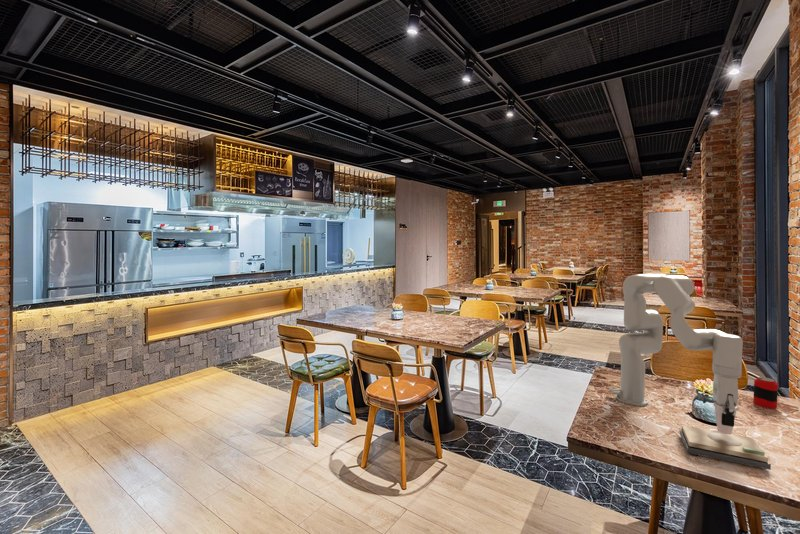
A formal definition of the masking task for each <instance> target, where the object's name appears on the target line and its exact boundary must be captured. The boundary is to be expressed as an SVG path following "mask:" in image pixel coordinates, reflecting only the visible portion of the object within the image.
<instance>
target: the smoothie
mask: <svg viewBox="0 0 800 534" xmlns="http://www.w3.org/2000/svg"><path fill="white" fill-rule="evenodd" d="M725 404H726V405H728V403H725ZM712 405H713V406H714V411H715V421H716V431H718V432H721V433H723V434H733V429H734V427H731V426H726V425H722V423H721V421H722V413H723V404H721V405H719V404H718V403H717V402H716V400H715V401H713V404H712ZM727 408H728V407H726V409H727ZM738 410H739V407H738V405H737V406H736V407H735V410H734V411H735V412H734V413H735V416H737V411H738ZM735 420H736V417H735V418H734V421H735Z"/></svg>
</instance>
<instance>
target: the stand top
mask: <svg viewBox="0 0 800 534" xmlns="http://www.w3.org/2000/svg"><path fill="white" fill-rule="evenodd" d="M681 429H682V431H683V433H684V436H685V438H686V440H687V442H688V445H689V446H691V447H696V448H701V449H706V450H711V451H716V452H720V453H725V454H730V455H735V456H740V457H744V458H749V459H754V460H759V461H764V462H768V461H769V457H768V455H767V454H766V453H765V451H764V450H763V448H761V447H760V445H759V444H758V442H757V441H756V440H755V439H754V438H753V437H749V436H745V435H739V434H733V433H732V434H723V433H721V432H719V431H718V430H712V429H707V428H701V427H696V426H691V425H690V426H689V425H685V424H681Z"/></svg>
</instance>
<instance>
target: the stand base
mask: <svg viewBox="0 0 800 534" xmlns="http://www.w3.org/2000/svg"><path fill="white" fill-rule="evenodd" d="M678 432H679V435H680V438H681V440H682V442H683V443H682V444H683V445H684V446H683V447H684V448H685V450H686V452H687V454H688V455H690V456H693V457H699V456H702V457H707V458H712V459H716V460H722V461H726V462H727V461H728V462H731V463H736V464H740V465H741V464H742V465H746V466H749V467H750V466H751V467H754V468H761V469H765V470H770V471H771V468H772V466H771V465H772V464H771V463H770V461H769V460H768V462H764V461H759V460H754V459H749V458H744V457H740V456H735V455H730V454H725V453H720V452H716V451H711V450H706V449H701V448H696V447H691V446H689V445H688V442H687V440H686V438H685V436H684V433H683V431H682V428H679V430H678Z"/></svg>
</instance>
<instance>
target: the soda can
mask: <svg viewBox="0 0 800 534" xmlns="http://www.w3.org/2000/svg"><path fill="white" fill-rule="evenodd" d="M778 388H779V384H778V382H777V381H776V380H775V379H773V378H769V377H763V376H758V377H756V378H755V379H754V381H753V401H752V402H753V404H754V405H755V406H758V407H760V408H763V409H769V410H770V409H771V410H774V409H778V394H779V393H778V392H779V391H778V390H779V389H778Z"/></svg>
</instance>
